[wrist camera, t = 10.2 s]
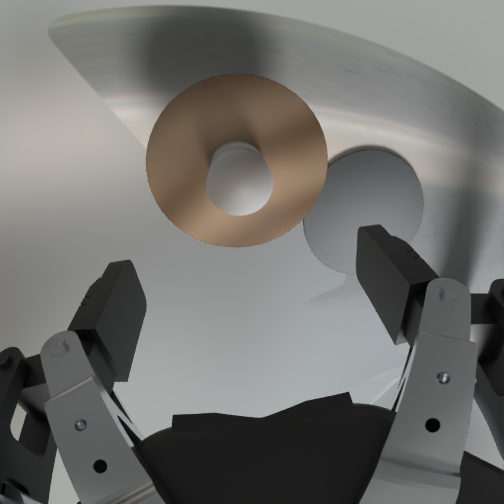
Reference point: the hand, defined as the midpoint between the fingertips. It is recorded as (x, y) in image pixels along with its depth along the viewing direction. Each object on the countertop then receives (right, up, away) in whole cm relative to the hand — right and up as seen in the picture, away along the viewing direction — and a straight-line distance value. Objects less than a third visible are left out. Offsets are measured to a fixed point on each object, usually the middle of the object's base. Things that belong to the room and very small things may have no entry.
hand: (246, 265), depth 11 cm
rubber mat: (+15, +5, +26) cm, 31 cm away
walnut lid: (-1, +7, +13) cm, 15 cm away
